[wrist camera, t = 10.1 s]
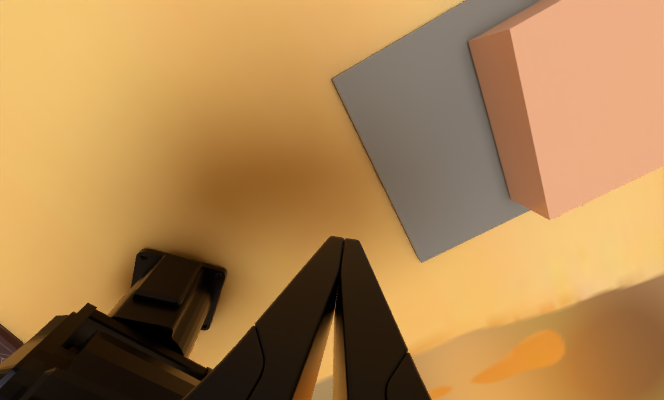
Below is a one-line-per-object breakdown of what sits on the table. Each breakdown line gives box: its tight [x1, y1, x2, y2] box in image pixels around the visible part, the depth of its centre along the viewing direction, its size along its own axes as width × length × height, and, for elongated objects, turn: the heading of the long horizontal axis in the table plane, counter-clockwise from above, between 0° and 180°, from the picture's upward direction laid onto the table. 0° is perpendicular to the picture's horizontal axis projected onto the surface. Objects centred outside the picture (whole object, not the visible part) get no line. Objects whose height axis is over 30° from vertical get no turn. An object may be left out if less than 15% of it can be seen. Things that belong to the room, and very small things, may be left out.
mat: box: [332, 0, 540, 263], centre depth 19 cm, size 19×16×1 cm
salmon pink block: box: [468, 0, 664, 220], centre depth 17 cm, size 4×12×9 cm
